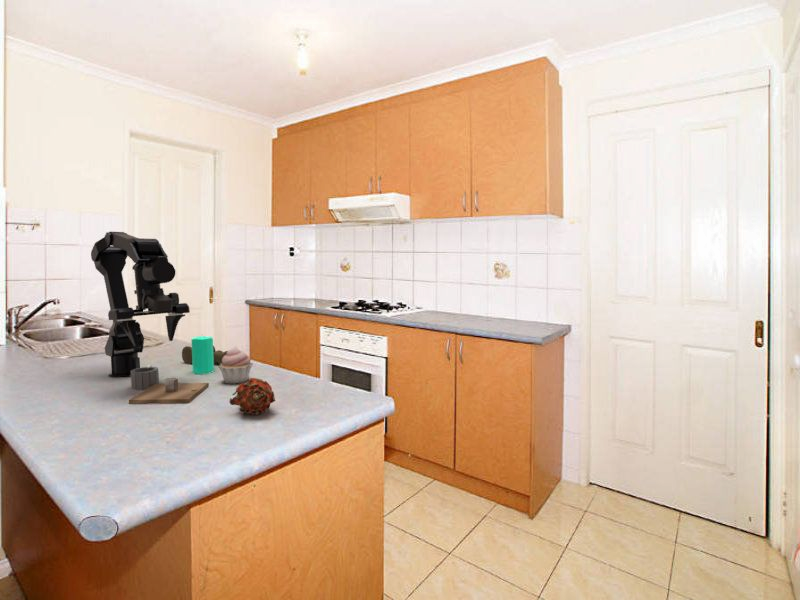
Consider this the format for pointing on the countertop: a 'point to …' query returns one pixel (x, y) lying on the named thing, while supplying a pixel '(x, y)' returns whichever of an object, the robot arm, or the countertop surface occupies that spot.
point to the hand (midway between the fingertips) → (153, 343)
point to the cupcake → (235, 366)
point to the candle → (202, 355)
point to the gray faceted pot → (144, 377)
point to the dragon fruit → (253, 396)
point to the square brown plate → (169, 392)
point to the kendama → (188, 355)
